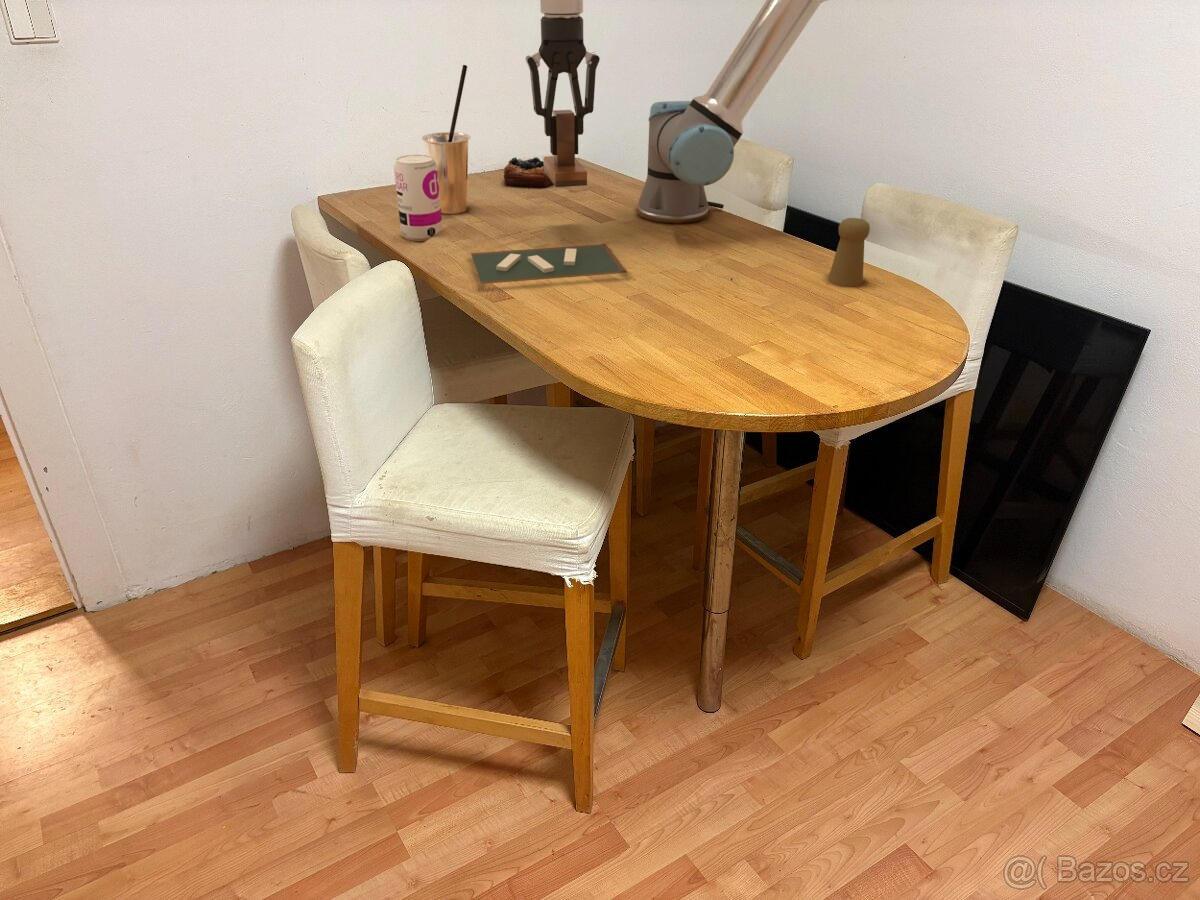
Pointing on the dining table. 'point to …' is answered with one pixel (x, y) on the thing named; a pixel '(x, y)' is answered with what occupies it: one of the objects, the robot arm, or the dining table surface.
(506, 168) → the pastry
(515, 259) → the cream rectangular block
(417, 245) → the dining table surface
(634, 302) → the dining table surface
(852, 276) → the brown pawn
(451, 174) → the copper cup with straw
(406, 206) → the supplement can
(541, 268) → the cream wooden plank
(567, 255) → the pale wooden block
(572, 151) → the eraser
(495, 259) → the chalkboard
